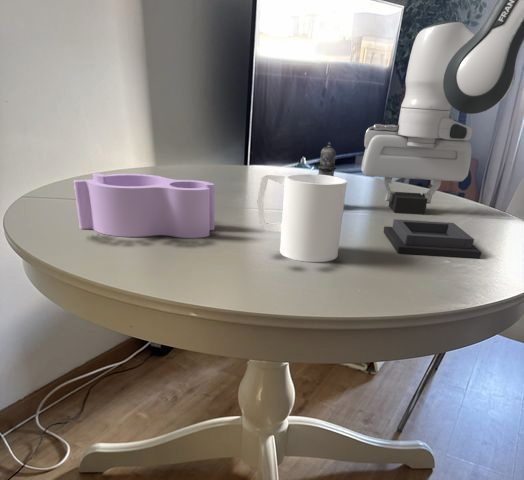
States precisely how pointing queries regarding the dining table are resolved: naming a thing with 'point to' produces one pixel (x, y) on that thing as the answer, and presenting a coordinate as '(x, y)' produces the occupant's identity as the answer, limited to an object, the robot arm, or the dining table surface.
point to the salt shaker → (327, 161)
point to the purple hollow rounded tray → (145, 205)
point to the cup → (307, 215)
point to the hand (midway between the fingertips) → (407, 201)
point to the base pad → (431, 239)
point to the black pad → (408, 203)
